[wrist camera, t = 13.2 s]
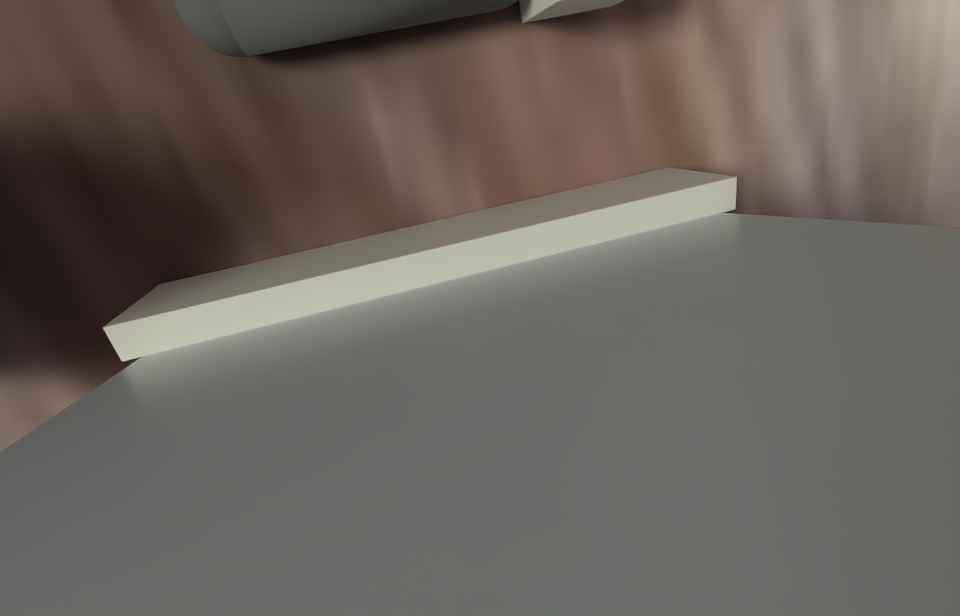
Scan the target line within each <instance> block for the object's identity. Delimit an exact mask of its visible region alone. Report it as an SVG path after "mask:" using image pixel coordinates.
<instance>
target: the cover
mask: <svg viewBox="0 0 960 616" xmlns="http://www.w3.org/2000/svg"><path fill="white" fill-rule="evenodd" d="M0 616H960V228H958V227H942V226H926V225H910V224H894V223H878V222H862V221H846V220H829V219H813V218H797V217H781V216H765V215H749V214H733V213H718V214H714V215H710V216H706V217H702V218H698V219H694V220H690V221H686V222H682V223H678V224H674V225H670V226H666V227H662V228H658V229H654V230H650V231H646V232H642V233H638V234H634V235H630V236H626V237H622V238H618V239H614V240H610V241H606V242H602V243H598V244H594V245H590V246H585V247H581V248H577V249H573V250H569V251H565V252H561V253H557V254H553V255H549V256H545V257H541V258H537V259H533V260H529V261H525V262H521V263H517V264H513V265H509V266H505V267H501V268H497V269H493V270H489V271H485V272H481V273H477V274H473V275H469V276H465V277H461V278H457V279H453V280H449V281H445V282H441V283H437V284H433V285H429V286H425V287H420V288H416V289H412V290H408V291H404V292H400V293H396V294H392V295H388V296H384V297H380V298H376V299H372V300H368V301H364V302H360V303H356V304H352V305H348V306H344V307H340V308H336V309H332V310H328V311H324V312H320V313H316V314H312V315H308V316H304V317H300V318H296V319H292V320H288V321H284V322H280V323H276V324H272V325H268V326H264V327H260V328H256V329H251V330H247V331H243V332H239V333H235V334H231V335H227V336H223V337H219V338H215V339H211V340H207V341H203V342H199V343H195V344H191V345H187V346H183V347H179V348H175V349H171V350H167V351H163V352H159V353H155V354H151V355H147V356H143V357H141V358H140V359H138V360H137V361H135V362H134V363H132V364H131V365H129V366H128V367H126V368H125V369H123V370H122V371H120V372H119V373H117V374H116V375H114V376H113V377H111V378H110V379H109V380H107V381H106V382H104V383H103V384H101V385H100V386H98V387H97V388H95V389H94V390H92V391H91V392H89V393H88V394H86V395H85V396H83V397H82V398H80V399H79V400H77V401H76V402H75V403H73V404H72V405H70V406H69V407H67V408H66V409H64V410H63V411H61V412H60V413H58V414H57V415H55V416H54V417H52V418H51V419H49V420H48V421H46V422H45V423H43V424H42V425H41V426H39V427H38V428H36V429H35V430H33V431H32V432H30V433H29V434H27V435H26V436H24V437H23V438H21V439H20V440H18V441H17V442H15V443H14V444H12V445H11V446H10V447H8V448H7V449H5V450H4V451H2V452H1V453H0Z"/></svg>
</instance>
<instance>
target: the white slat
mask: <svg viewBox="0 0 960 616" xmlns="http://www.w3.org/2000/svg"><path fill="white" fill-rule="evenodd" d="M736 185H737V177H735V176H728V175H721V174H713V173H706V172H699V171H692V170H684V169H677V168H670V167H668V168H664V169H659V170H655V171H650V172H646V173H642V174H637V175H633V176H629V177H624V178H620V179H616V180H611V181H607V182H603V183H598V184H594V185H590V186H585V187H581V188H576V189H572V190H568V191H563V192H559V193H555V194H550V195H546V196H542V197H537V198H533V199H529V200H524V201H520V202H515V203H511V204H507V205H502V206H498V207H494V208H489V209H485V210H481V211H476V212H472V213H468V214H463V215H459V216H455V217H450V218H446V219H441V220H437V221H433V222H428V223H424V224H420V225H415V226H411V227H407V228H402V229H398V230H394V231H389V232H385V233H381V234H376V235H372V236H367V237H363V238H359V239H354V240H350V241H346V242H341V243H337V244H333V245H328V246H324V247H320V248H315V249H311V250H307V251H302V252H298V253H293V254H289V255H285V256H280V257H276V258H272V259H267V260H263V261H259V262H254V263H250V264H246V265H241V266H237V267H233V268H228V269H224V270H219V271H215V272H211V273H206V274H202V275H198V276H193V277H189V278H185V279H180V280H176V281H172V282H167V283H163V284H159V285H158V286H157V287H155V288H154V289H153V290H152V291H150V292H149V293H148V294H146V295H145V296H144V297H142V298H141V299H140V300H138V301H137V302H136V303H134V304H133V305H132V306H130V307H129V308H128V309H126V310H125V311H124V312H123V313H121V314H120V315H119V316H117V317H116V318H115V319H113V320H112V321H111V322H109V323H108V324H107V325H105V326H104V327H103V329H104V331H105V333H106V335H107V336H108V338H109V340H110V342H111V343H112V345H113V347H114V349H115V350H116V352H117V354H118V356H119V357H120V359H121V361H122V362H123V361H127V360H131V359H135V358H139V357H143V356H147V355H151V354H155V353H159V352H163V351H167V350H171V349H175V348H179V347H183V346H187V345H191V344H195V343H199V342H203V341H207V340H211V339H215V338H219V337H223V336H227V335H231V334H235V333H239V332H243V331H247V330H251V329H256V328H260V327H264V326H268V325H272V324H276V323H280V322H284V321H288V320H292V319H296V318H300V317H304V316H308V315H312V314H316V313H320V312H324V311H328V310H332V309H336V308H340V307H344V306H348V305H352V304H356V303H360V302H364V301H368V300H372V299H376V298H380V297H384V296H388V295H392V294H396V293H400V292H404V291H408V290H412V289H416V288H420V287H425V286H429V285H433V284H437V283H441V282H445V281H449V280H453V279H457V278H461V277H465V276H469V275H473V274H477V273H481V272H485V271H489V270H493V269H497V268H501V267H505V266H509V265H513V264H517V263H521V262H525V261H529V260H533V259H537V258H541V257H545V256H549V255H553V254H557V253H561V252H565V251H569V250H573V249H577V248H581V247H585V246H590V245H594V244H598V243H602V242H606V241H610V240H614V239H618V238H622V237H626V236H630V235H634V234H638V233H642V232H646V231H650V230H654V229H658V228H662V227H666V226H670V225H674V224H678V223H682V222H686V221H690V220H694V219H698V218H702V217H706V216H710V215H714V214H718V213H722V212H726V211H730V210H734V209H735V208H736Z"/></svg>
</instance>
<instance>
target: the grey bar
mask: <svg viewBox="0 0 960 616" xmlns="http://www.w3.org/2000/svg"><path fill="white" fill-rule="evenodd" d="M517 1H518V0H174V3H175V6H176V9H177V11H178V14H179V16H180V17H181V19H182V21H183V22H184V24H185V25H186V27H187V28H188V29H189V30H190V32H191V33H192V34H193V35H194V36H195V37H196V38H197V39H198V40H200V41H201V42H202V43H203V44H205V45H206V46H207V47H209V48H211V49H213V50H215V51H217V52H219V53H222V54H225V55H228V56H236V57H245V56H253V55H259V54H264V53H270V52H275V51H280V50H286V49H291V48H297V47H302V46H308V45H313V44H318V43H324V42H329V41H335V40H340V39H346V38H351V37H357V36H362V35H367V34H373V33H378V32H384V31H389V30H395V29H400V28H405V27H411V26H416V25H422V24H427V23H433V22H438V21H444V20H449V19H454V18H460V17H465V16H471V15H476V14H482V13H487V12H492V11H498V10H501V9H504V8H507V7H509V6H511V5H512V4H514V3H515V2H517ZM622 1H624V0H519V3H520V11H521V19H522V23H527V22H533V21H538V20H543V19H548V18H554V17H559V16H564V15H570V14H575V13H580V12H585V11H591V10H596V9H601V8H607V7H611V6H613V5H615V4H618V3H620V2H622Z"/></svg>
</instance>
